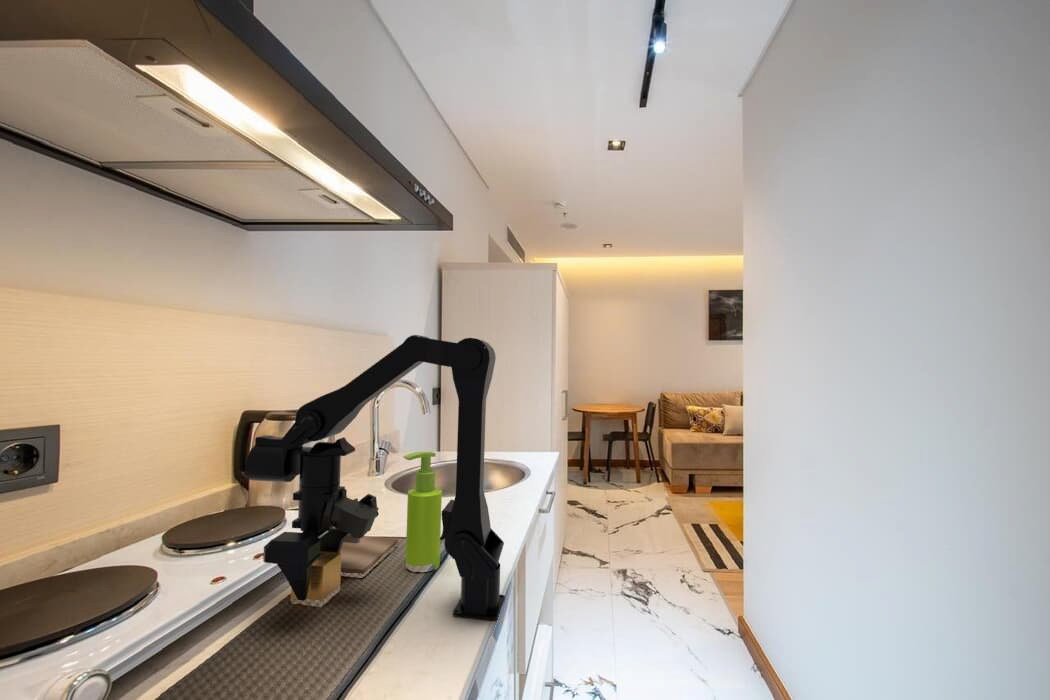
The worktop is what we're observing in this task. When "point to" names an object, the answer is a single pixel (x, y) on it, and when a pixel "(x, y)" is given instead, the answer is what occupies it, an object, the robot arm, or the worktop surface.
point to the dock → (363, 552)
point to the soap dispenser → (423, 515)
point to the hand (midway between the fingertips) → (316, 586)
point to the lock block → (323, 576)
